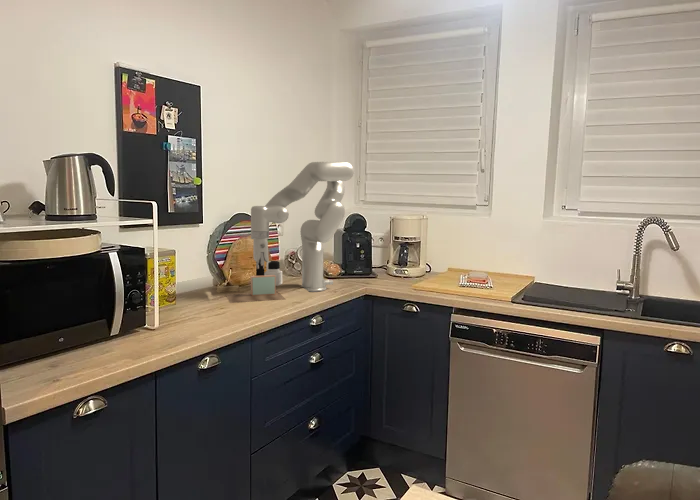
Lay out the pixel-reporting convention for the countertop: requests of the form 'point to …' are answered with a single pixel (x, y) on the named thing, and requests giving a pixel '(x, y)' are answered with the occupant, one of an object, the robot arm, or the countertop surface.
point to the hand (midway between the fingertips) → (260, 277)
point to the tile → (263, 285)
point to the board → (252, 297)
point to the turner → (228, 289)
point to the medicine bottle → (274, 271)
